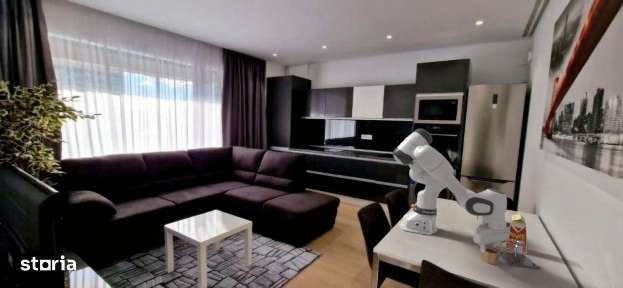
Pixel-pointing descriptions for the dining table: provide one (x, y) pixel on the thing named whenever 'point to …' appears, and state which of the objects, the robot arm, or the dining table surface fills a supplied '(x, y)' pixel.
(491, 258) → the wooden faceted bowl
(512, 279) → the dining table surface
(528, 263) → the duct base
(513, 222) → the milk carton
